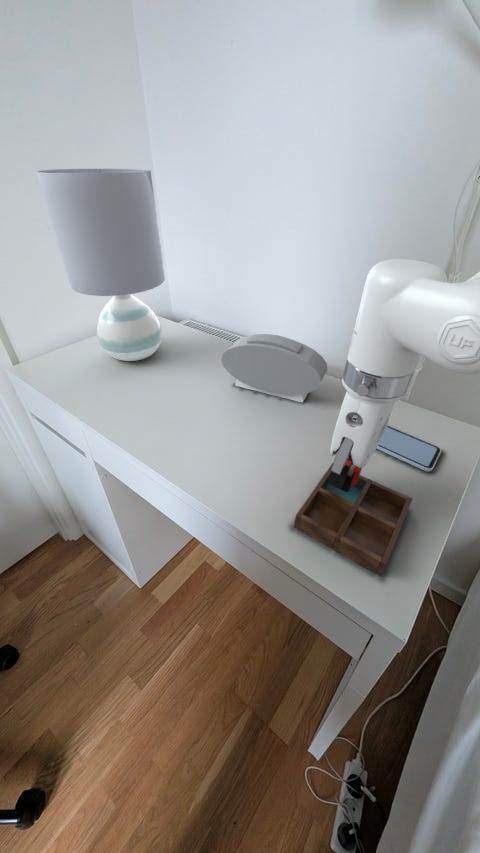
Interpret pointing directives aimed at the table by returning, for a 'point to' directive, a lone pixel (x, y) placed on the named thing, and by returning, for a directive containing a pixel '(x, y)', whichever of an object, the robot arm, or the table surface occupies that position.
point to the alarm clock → (275, 366)
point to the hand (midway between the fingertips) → (344, 476)
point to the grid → (355, 520)
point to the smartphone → (409, 448)
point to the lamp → (110, 249)
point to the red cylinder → (357, 473)
